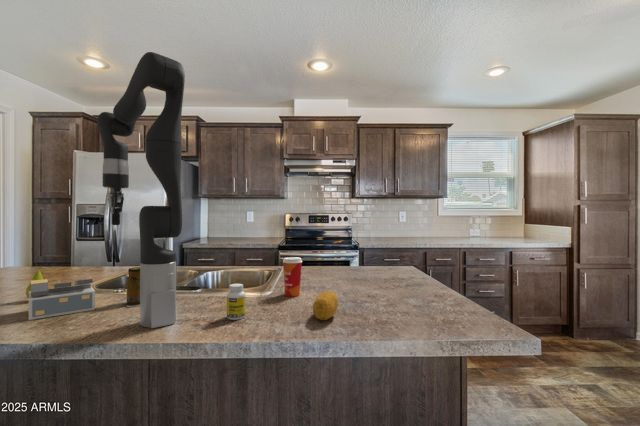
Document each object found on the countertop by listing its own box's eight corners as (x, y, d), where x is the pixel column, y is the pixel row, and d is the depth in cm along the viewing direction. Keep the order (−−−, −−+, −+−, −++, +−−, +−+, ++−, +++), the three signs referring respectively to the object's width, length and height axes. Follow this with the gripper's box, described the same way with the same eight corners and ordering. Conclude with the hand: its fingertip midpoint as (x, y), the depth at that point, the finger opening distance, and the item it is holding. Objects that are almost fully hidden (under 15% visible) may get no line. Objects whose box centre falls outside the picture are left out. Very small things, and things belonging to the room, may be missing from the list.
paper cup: (280, 292, 129) (280, 257, 129) (299, 291, 132) (299, 256, 131) (284, 298, 122) (284, 260, 122) (304, 296, 124) (304, 259, 124)
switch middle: (71, 286, 103) (71, 281, 103) (54, 288, 100) (54, 283, 100) (68, 285, 110) (68, 281, 111) (53, 287, 108) (53, 283, 108)
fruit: (25, 303, 112) (25, 268, 112) (26, 300, 117) (26, 266, 117) (47, 300, 116) (47, 266, 116) (47, 297, 121) (47, 264, 121)
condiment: (145, 298, 120) (145, 265, 120) (151, 304, 113) (151, 269, 113) (122, 302, 115) (122, 267, 115) (126, 308, 108) (127, 271, 108)
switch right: (92, 282, 107) (92, 278, 107) (77, 284, 104) (77, 280, 104) (88, 284, 114) (88, 280, 114) (74, 285, 111) (74, 281, 112)
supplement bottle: (226, 321, 96) (226, 287, 96) (226, 315, 101) (226, 283, 101) (245, 319, 97) (245, 286, 97) (244, 314, 103) (244, 282, 103)
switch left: (48, 294, 99) (48, 290, 99) (30, 296, 97) (30, 292, 97) (47, 282, 107) (47, 278, 107) (30, 284, 104) (30, 280, 104)
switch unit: (95, 310, 106) (95, 287, 106) (28, 320, 95) (28, 295, 95) (90, 301, 115) (90, 281, 115) (28, 310, 105) (28, 287, 105)
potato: (341, 310, 107) (341, 289, 106) (333, 326, 92) (333, 300, 92) (319, 309, 108) (319, 287, 108) (308, 323, 94) (308, 299, 94)
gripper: (132, 172, 109) (132, 225, 109) (124, 175, 119) (124, 224, 119) (106, 170, 104) (105, 226, 104) (99, 174, 114) (99, 224, 114)
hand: (115, 224), depth 111 cm, fingers closed
